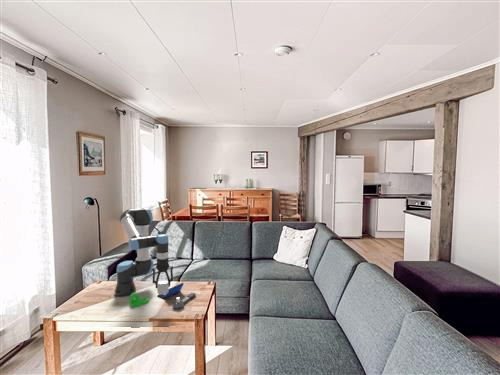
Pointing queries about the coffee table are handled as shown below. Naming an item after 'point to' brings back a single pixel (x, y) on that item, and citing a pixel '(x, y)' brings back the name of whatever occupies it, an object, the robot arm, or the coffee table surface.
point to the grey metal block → (162, 287)
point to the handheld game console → (171, 291)
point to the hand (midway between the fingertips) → (163, 291)
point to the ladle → (182, 301)
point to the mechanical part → (137, 300)
